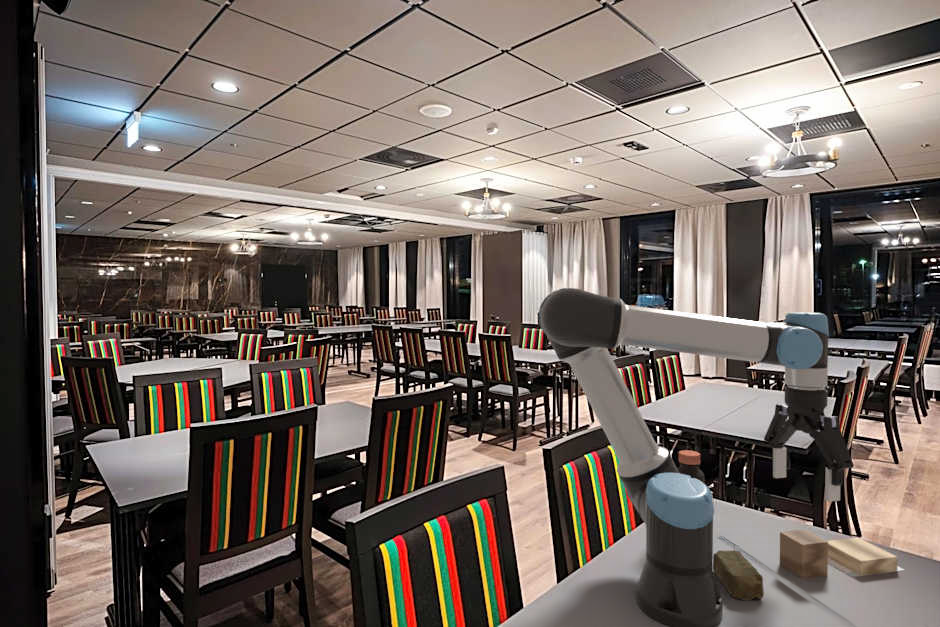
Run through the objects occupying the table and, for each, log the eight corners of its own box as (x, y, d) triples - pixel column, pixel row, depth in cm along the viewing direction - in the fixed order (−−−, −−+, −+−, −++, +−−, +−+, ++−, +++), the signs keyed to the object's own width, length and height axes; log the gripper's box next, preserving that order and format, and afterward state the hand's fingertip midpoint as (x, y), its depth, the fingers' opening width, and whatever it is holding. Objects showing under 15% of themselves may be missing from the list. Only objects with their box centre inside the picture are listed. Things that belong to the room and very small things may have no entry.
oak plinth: (860, 575, 109) (861, 561, 109) (823, 554, 118) (823, 541, 118) (897, 571, 111) (897, 556, 111) (857, 550, 119) (858, 537, 119)
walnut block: (802, 583, 108) (802, 544, 108) (779, 568, 114) (780, 532, 114) (827, 580, 109) (827, 542, 109) (803, 565, 115) (804, 529, 115)
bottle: (708, 533, 131) (709, 453, 130) (696, 542, 126) (697, 459, 125) (681, 525, 136) (682, 447, 135) (669, 533, 131) (669, 452, 130)
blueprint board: (852, 581, 109) (852, 576, 108) (815, 560, 117) (815, 555, 117) (905, 574, 111) (905, 569, 111) (865, 554, 120) (865, 549, 120)
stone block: (738, 571, 113) (738, 548, 113) (765, 603, 102) (766, 577, 101) (710, 571, 113) (711, 548, 113) (734, 602, 102) (735, 576, 102)
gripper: (877, 397, 99) (875, 510, 99) (775, 377, 123) (775, 468, 124) (843, 399, 97) (841, 513, 98) (747, 378, 122) (746, 470, 122)
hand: (804, 488), depth 111 cm, fingers open, 13 cm apart
